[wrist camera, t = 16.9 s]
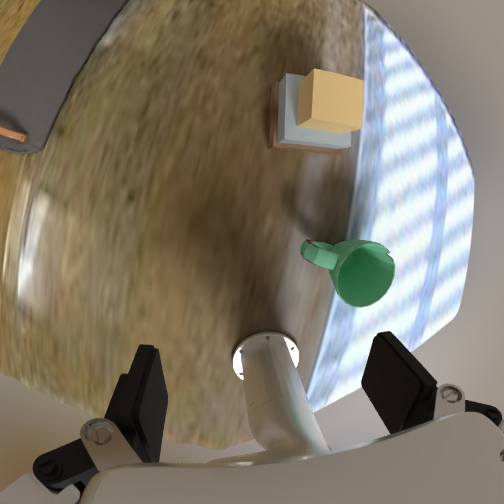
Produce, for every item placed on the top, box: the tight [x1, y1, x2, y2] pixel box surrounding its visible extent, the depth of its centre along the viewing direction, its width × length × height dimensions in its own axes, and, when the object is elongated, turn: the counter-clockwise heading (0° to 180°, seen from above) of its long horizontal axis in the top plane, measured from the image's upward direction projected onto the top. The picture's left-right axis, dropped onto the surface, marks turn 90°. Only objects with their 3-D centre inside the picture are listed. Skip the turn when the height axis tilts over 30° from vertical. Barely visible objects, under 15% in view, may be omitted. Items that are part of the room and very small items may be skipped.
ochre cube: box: [297, 68, 363, 134], centre depth 29 cm, size 6×6×6 cm
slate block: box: [277, 73, 351, 149], centre depth 34 cm, size 9×9×4 cm
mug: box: [301, 239, 395, 307], centre depth 42 cm, size 15×10×10 cm
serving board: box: [0, 0, 129, 154], centre depth 28 cm, size 39×23×6 cm, turn 152°
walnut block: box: [268, 81, 340, 155], centre depth 39 cm, size 10×10×4 cm
